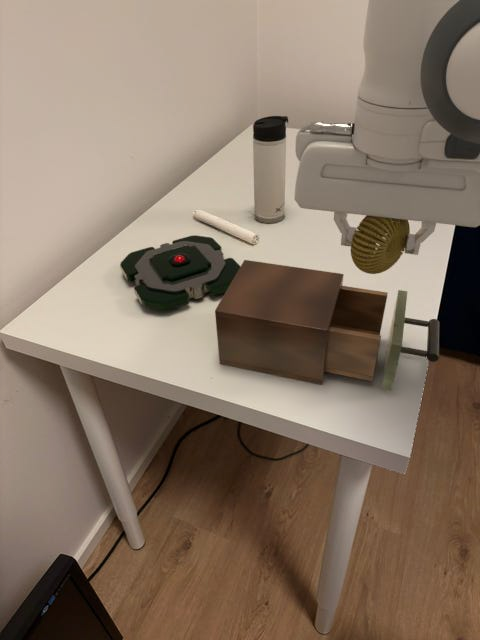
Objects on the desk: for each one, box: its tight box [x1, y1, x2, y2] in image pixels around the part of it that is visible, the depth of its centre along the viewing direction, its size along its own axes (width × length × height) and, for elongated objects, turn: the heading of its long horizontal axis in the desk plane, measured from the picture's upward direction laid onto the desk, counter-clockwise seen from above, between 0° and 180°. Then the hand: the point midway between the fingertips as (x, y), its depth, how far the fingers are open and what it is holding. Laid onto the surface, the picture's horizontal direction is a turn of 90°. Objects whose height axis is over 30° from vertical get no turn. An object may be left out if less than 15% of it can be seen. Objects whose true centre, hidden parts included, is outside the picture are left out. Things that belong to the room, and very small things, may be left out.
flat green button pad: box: [119, 234, 241, 311], centre depth 84 cm, size 18×18×5 cm
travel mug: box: [252, 115, 289, 224], centre depth 95 cm, size 6×7×20 cm
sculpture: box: [350, 215, 411, 275], centre depth 56 cm, size 8×4×8 cm, turn 128°
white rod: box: [192, 209, 260, 245], centre depth 98 cm, size 18×2×2 cm, turn 46°
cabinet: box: [214, 259, 345, 385], centre depth 68 cm, size 15×13×10 cm
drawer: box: [324, 285, 440, 391], centre depth 65 cm, size 18×11×8 cm, turn 72°
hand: (379, 247), depth 57 cm, fingers closed on sculpture, 6 cm apart
